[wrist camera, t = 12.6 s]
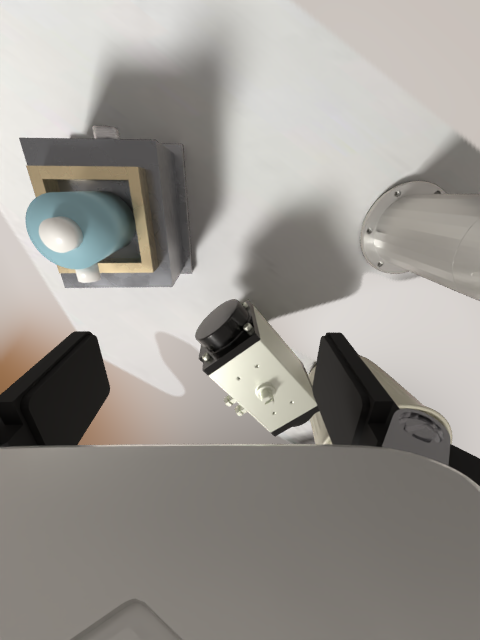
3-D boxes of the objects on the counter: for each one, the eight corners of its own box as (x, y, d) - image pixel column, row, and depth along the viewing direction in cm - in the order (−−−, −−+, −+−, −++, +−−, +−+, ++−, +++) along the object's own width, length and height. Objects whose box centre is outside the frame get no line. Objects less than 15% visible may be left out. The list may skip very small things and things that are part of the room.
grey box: (182, 139, 32) (158, 111, 21) (192, 271, 39) (178, 302, 28) (66, 137, 31) (-22, 107, 20) (98, 271, 39) (46, 303, 28)
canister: (391, 331, 46) (508, 429, 27) (377, 407, 54) (459, 524, 35) (289, 342, 46) (333, 448, 27) (290, 416, 54) (325, 538, 35)
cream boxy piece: (195, 305, 42) (176, 374, 26) (236, 273, 40) (242, 326, 24) (261, 373, 48) (278, 462, 32) (299, 349, 46) (337, 430, 30)
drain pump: (130, 191, 25) (87, 193, 17) (141, 262, 28) (108, 291, 21) (71, 189, 25) (0, 191, 17) (88, 261, 28) (35, 290, 20)
